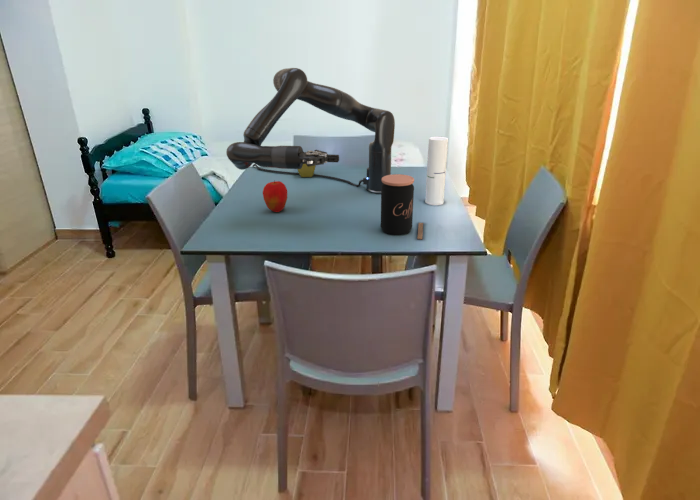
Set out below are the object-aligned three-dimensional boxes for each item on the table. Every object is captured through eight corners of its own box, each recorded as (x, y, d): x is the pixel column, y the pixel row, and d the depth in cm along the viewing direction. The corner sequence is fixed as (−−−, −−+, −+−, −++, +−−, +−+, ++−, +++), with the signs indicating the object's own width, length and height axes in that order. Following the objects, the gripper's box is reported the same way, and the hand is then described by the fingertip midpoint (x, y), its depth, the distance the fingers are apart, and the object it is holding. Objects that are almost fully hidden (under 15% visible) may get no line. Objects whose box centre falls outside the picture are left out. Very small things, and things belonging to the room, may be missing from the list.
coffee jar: (392, 238, 160) (394, 185, 152) (374, 228, 168) (375, 177, 161) (418, 231, 165) (421, 179, 157) (399, 221, 173) (401, 172, 166)
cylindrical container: (443, 205, 188) (448, 140, 178) (424, 204, 190) (428, 140, 179) (443, 199, 195) (448, 136, 184) (425, 198, 196) (429, 136, 185)
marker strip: (417, 239, 159) (417, 238, 159) (418, 223, 171) (418, 222, 171) (422, 239, 159) (422, 238, 159) (423, 223, 171) (423, 222, 171)
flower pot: (315, 178, 224) (315, 159, 220) (296, 178, 224) (295, 159, 220) (317, 173, 232) (316, 154, 228) (298, 173, 232) (297, 154, 228)
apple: (279, 204, 191) (276, 175, 186) (293, 210, 185) (291, 179, 180) (259, 210, 185) (256, 180, 180) (273, 216, 180) (271, 185, 174)
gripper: (280, 150, 154) (334, 151, 152) (291, 141, 166) (342, 142, 163) (282, 173, 157) (335, 175, 155) (293, 163, 169) (342, 164, 167)
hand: (338, 158), depth 159 cm, fingers closed
